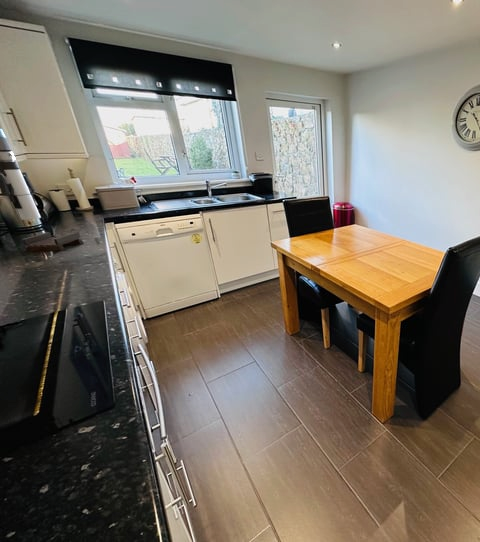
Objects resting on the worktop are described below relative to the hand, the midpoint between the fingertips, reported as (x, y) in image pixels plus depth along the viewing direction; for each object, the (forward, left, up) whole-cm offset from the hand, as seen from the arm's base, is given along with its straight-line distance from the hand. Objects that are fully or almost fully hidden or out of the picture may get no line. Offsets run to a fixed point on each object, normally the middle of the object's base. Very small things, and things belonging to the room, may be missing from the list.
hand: (26, 207), depth 149 cm
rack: (+13, -7, -21) cm, 26 cm away
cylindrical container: (0, 0, -6) cm, 6 cm away
